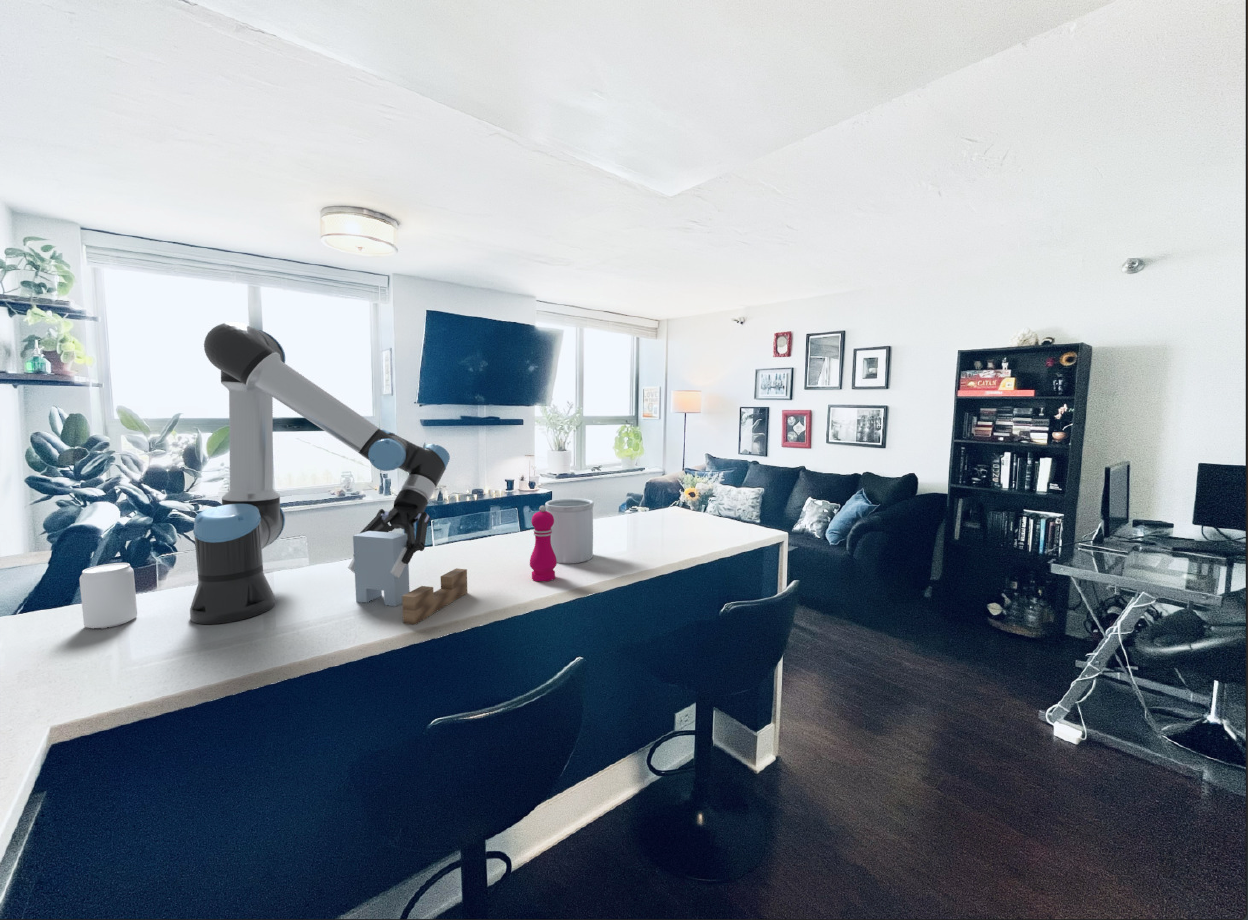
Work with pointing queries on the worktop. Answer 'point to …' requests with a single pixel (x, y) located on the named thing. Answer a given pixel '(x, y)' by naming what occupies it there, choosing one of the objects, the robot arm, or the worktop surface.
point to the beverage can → (108, 595)
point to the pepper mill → (543, 547)
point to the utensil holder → (571, 529)
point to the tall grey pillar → (379, 567)
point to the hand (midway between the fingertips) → (373, 572)
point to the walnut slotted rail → (434, 596)
